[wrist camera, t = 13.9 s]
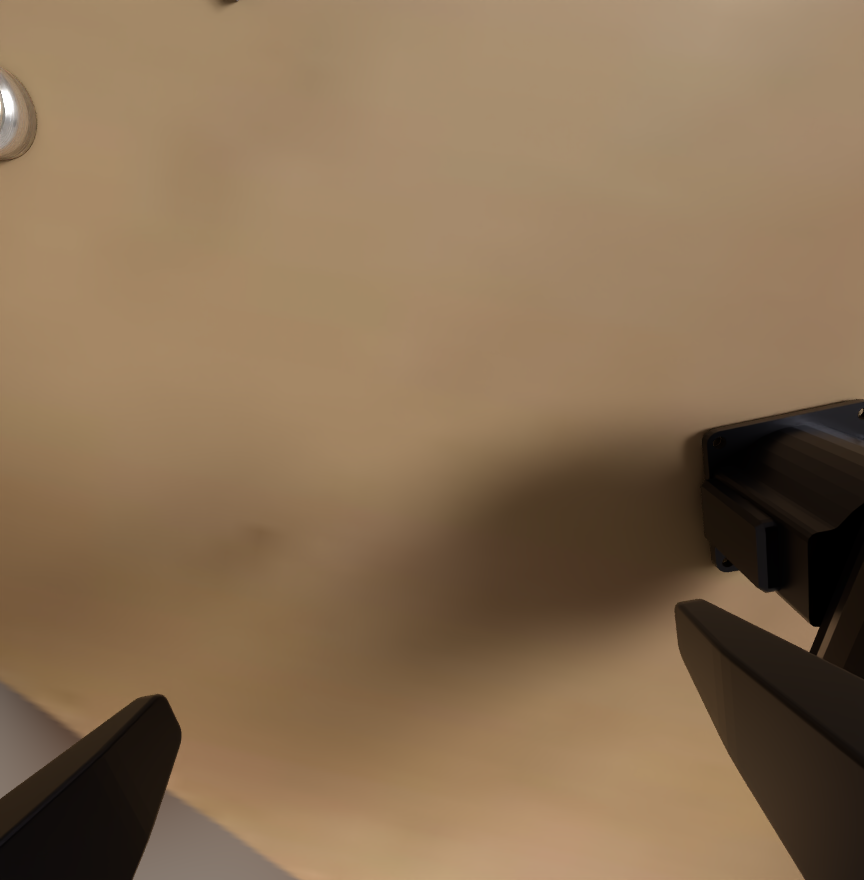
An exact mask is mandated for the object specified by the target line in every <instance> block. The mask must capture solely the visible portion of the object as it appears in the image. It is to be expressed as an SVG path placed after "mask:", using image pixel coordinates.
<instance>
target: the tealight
mask: <svg viewBox="0 0 864 880" xmlns="http://www.w3.org/2000/svg"><path fill="white" fill-rule="evenodd" d="M36 129H37V118H36V111H35V107H34V104H33V101H32V99H31V97H30V95H29V93H28V92H27V90H26V88H25V87H24V86H23V84H22V83H21V82H20V81H19V80H18V79H17V78H16V77H15V76H14V75H13V74H11V73H10V72H9V71H7V70H5V69H4V68H2V67H0V159H1V160H9V159H14V158H17V157H19V156H21V155H22V154H24V153H25V152H26V151H27V150H28V149H29V148H30V146H31V145H32V143H33V141H34V138H35V135H36Z"/></svg>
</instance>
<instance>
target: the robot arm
mask: <svg viewBox="0 0 864 880" xmlns="http://www.w3.org/2000/svg"><path fill="white" fill-rule="evenodd" d="M862 408H863V413H862V414H861V415H860V416H859V417H858V412H859V411H860V410H861V409H862ZM718 437H721V442H720V443H719V444H718V445H716V446H713V442H714V440H715V439H716V438H718ZM702 448H703V460H704V473H705V480H704V481H703V483H702V485H701V487H700V488H701V499H702V511H703V523H704V535H705V538H706V539H707V540H708V541H709V542H710V546H711V558H712V562H713V564H714V565H715V566H716V567H717V568H718V569H719V570H720V571H723V572H732V571H738V570H739V571H740V572H741V573H743V574H744V575H745V576H746V577H747V578H748V579H749V580H750V581H751V582H752V583H753V584H754V585H755V586H756V587H757V588H759V589H760V590H762V591H763V592H765V593H768V592H774V591H775V592H776V593H777V594H778V595H779V596H780V597H782V598H783V599H784V600H785V601H786V602H787V603H788V604H789V605H790V606H791V607H792V608H793V609H794V610H796V611H797V612H798V613H799V614H800V615H801V616H802V617H803V618H804V619H805V620H806V621H807V622H809V623H810V624H811V625H812V626H814V627H820V628H819V630H818V632H817V635H816V637H815V640H814V642H813V645H812V647H811V650H810V652H808V651H806V650H804V649H802V648H800V647H798V646H796V645H794V644H792V643H790V642H788V641H786V640H784V639H782V638H780V637H778V636H776V635H774V634H772V633H770V632H768V631H766V630H763V629H761V628H759V627H757V626H755V625H753V624H751V623H749V622H747V621H745V620H743V619H741V618H739V617H737V616H735V615H733V614H731V613H729V612H727V611H725V610H723V609H721V608H719V607H717V606H715V605H713V604H711V603H709V602H707V601H705V600H702V599H695V600H689V601H683V602H679V603H677V604H676V605H675V621H676V630H677V639H678V646H679V650H680V654H681V656H682V659H683V661H684V663H685V665H686V667H687V670H688V672H689V674H690V676H691V678H692V680H693V682H694V684H695V686H696V688H697V690H698V692H699V694H700V697H701V699H702V701H703V703H704V705H705V707H706V709H707V711H708V713H709V715H710V717H711V719H712V721H713V723H714V726H715V728H716V730H717V732H718V734H719V736H720V738H721V740H722V742H723V744H724V746H725V748H726V750H727V752H728V754H729V755H730V757H731V759H732V761H733V762H734V764H735V766H736V768H737V769H738V771H739V773H740V774H741V776H742V778H743V779H744V781H745V782H746V784H747V786H748V787H749V789H750V791H751V792H752V794H753V796H754V797H755V799H756V800H757V802H758V804H759V805H760V807H761V809H762V810H763V812H764V813H765V815H766V817H767V818H768V820H769V822H770V823H771V825H772V827H773V828H774V830H775V831H776V833H777V835H778V836H779V838H780V840H781V841H782V843H783V845H784V846H785V848H786V849H787V851H788V853H789V854H790V856H791V858H792V859H793V861H794V863H795V864H796V866H797V867H798V869H799V871H800V872H801V874H802V876H803V877H804V879H805V880H864V400H863V399H856V400H851V401H846V402H841V403H836V404H831V405H826V406H822V407H817V408H812V409H807V410H802V411H797V412H792V413H787V414H783V415H778V416H773V417H768V418H763V419H758V420H753V421H748V422H744V423H739V424H734V425H729V426H724V427H719V428H714V429H711V430H709V431H708V432H707V433H705V435H704V437H703V439H702ZM724 558H727V559H728V560H727V561H726V562H722V561H723V559H724ZM180 743H181V728H180V725H179V723H178V721H177V719H176V717H175V715H174V713H173V711H172V709H171V706H170V704H169V702H168V700H167V699H166V697H165V696H163V695H161V694H155V695H149V696H144V697H140V698H137V699H136V700H134V701H133V702H131V703H130V704H129V705H127V706H126V707H125V708H123V709H122V710H121V711H119V712H118V713H116V714H115V715H114V716H112V717H111V718H110V719H108V720H107V721H106V722H104V723H103V724H102V725H100V726H99V727H97V728H96V729H95V730H93V731H92V732H91V733H89V734H88V735H87V736H85V737H84V738H82V739H81V740H80V741H78V742H77V743H76V744H74V745H73V746H72V747H70V748H69V749H68V750H66V751H65V752H63V753H62V754H61V755H59V756H58V757H57V758H55V759H54V760H53V761H51V762H50V763H49V764H47V765H46V766H44V767H43V768H42V769H40V770H39V771H38V772H36V773H35V774H33V775H32V776H31V777H29V778H28V779H27V780H25V781H24V782H23V783H21V784H20V785H18V786H17V787H16V788H14V789H13V790H12V791H10V792H9V793H8V794H6V795H5V796H4V797H2V798H1V799H0V880H133V877H134V875H135V873H136V870H137V868H138V865H139V863H140V861H141V858H142V856H143V853H144V851H145V848H146V845H147V843H148V840H149V838H150V835H151V832H152V829H153V826H154V824H155V820H156V817H157V814H158V811H159V808H160V805H161V802H162V799H163V796H164V793H165V790H166V787H167V784H168V781H169V778H170V775H171V771H172V768H173V765H174V762H175V759H176V756H177V753H178V750H179V747H180Z"/></svg>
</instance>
